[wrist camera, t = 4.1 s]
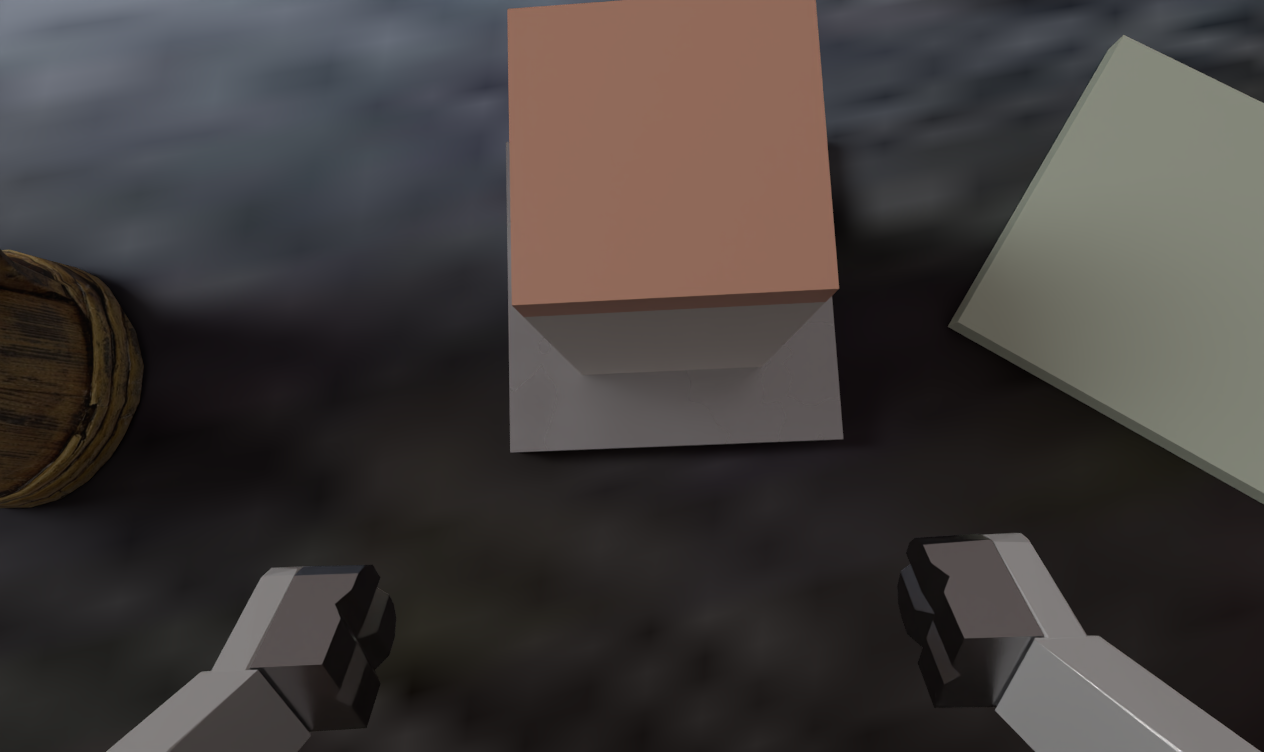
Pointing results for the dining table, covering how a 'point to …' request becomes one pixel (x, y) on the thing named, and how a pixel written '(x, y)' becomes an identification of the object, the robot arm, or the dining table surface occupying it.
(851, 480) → the dining table surface
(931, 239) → the dining table surface
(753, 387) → the square base plate
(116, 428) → the wooden mug
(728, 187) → the pink tall block
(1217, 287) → the pad
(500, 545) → the dining table surface
